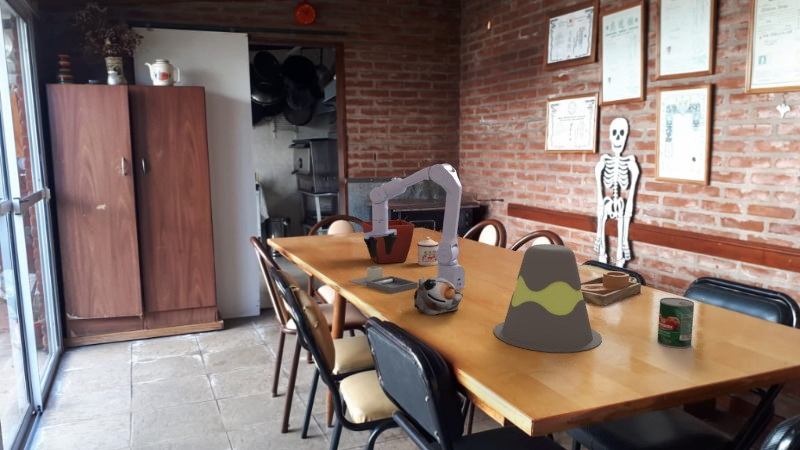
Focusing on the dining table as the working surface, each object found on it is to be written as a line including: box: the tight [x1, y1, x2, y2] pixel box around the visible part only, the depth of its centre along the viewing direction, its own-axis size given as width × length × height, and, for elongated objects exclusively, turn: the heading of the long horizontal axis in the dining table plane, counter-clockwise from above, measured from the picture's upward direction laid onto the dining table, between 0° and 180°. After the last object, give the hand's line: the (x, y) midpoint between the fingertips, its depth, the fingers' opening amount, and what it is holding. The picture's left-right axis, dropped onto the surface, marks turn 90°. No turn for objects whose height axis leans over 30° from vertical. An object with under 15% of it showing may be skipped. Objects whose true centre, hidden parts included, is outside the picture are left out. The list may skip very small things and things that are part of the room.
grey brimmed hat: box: [493, 243, 603, 354], centre depth 151 cm, size 28×28×24 cm
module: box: [366, 265, 383, 281], centre depth 211 cm, size 4×4×5 cm
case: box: [366, 275, 419, 294], centre depth 203 cm, size 14×12×2 cm
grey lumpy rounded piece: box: [413, 277, 464, 316], centre depth 173 cm, size 15×12×14 cm
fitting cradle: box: [581, 275, 642, 306], centre depth 194 cm, size 15×25×3 cm, turn 132°
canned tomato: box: [656, 297, 695, 349], centre depth 145 cm, size 8×8×11 cm
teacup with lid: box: [416, 236, 439, 267], centre depth 245 cm, size 12×9×12 cm
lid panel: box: [348, 276, 367, 287], centre depth 212 cm, size 11×12×1 cm
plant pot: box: [361, 219, 415, 264], centre depth 252 cm, size 19×19×17 cm
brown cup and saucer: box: [581, 270, 630, 295], centre depth 194 cm, size 18×8×7 cm, turn 104°
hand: (380, 255), depth 212 cm, fingers open, 7 cm apart
